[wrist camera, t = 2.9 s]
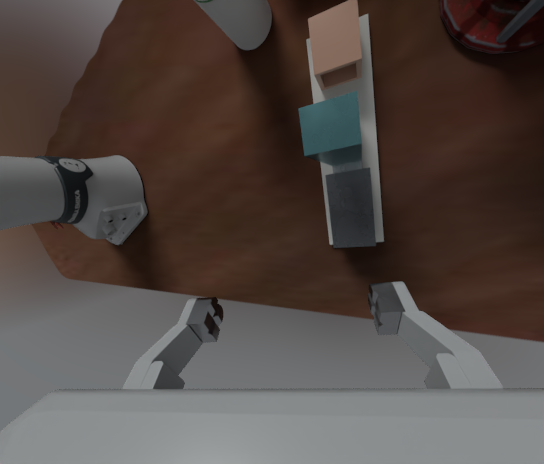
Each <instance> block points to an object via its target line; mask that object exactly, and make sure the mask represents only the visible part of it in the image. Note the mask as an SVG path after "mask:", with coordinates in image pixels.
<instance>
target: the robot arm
mask: <svg viewBox="0 0 544 464" xmlns="http://www.w3.org/2000/svg"><path fill="white" fill-rule="evenodd" d="M147 213H148V211H147V207H146V204H145V201H144V194H143V185H142V181H141V178H140V176H139V173H138V172H137V170H136V168H135V167H134V165H133V164H132V163H131V162H130V161H129V160H128V159H126V158H124V157H122V156H119V155H114V156H110V157H104V158H95V159H72V158H65V157H53V156H37V157H35V158H23V157H7V156H0V230H3V229H7V228H12V227H17V226H22V225H28V224H33V223H39V222H46V221H50V222H51V223H52V225H53V226H54V227H55V228H56V229H57V230H58V228H57V226H58V227H60V228H61V229H63V227H62V225H61V224H60V223H67V224H72V225H73V226H75V227H76V228H77V229H79V230H80V231H81V232H82V233H84V234H85V235H86V236H88V237H90V238H93V239H103V238H106V239H107V240H108V241H110V242H111V243H113V244H116V245H120V244H122V243H123V242H124V241H125V240H126V239H127V237H128V236H129V235H130V234H131V233H132V232H133V230H134V229H135V228H136V227H137V226H138V225H139V223H140V222H141V221H142V220H143V219H144V218H145V216H146V215H147ZM56 225H57V226H56ZM368 289H369V292H370V293H369V294H368V304H369V308H370V311H371V314H372V315H374V324H375V327H376V330H377V332H378V335H385V334H386V335H391V334H397V336H398V337H399V338H400V339H401V340H402V341H403V342H404V343H405V344H406V345H407V346H409V347H410V349H411V350H412V351H413V352H414V353H416V354H417V356H418V357H419V358H420V359H421V360H422V361H423V362H425V364H426V365H427V366H429V368H430V370H429V372H428V375H427V377H426V379H425V381H424V382H425V384H426V387H427V389H183V387H184V384H185V383H184V381H183V380H182V379H181V378H180V377H179V376H178V375H179V373H180V372H181V371H182V369H183V368H184V367H185V365H186V364H187V363H188V362H189V361H190V359H191V358H192V357H193V355H194V354H195V353H196V351H197V350H198V349H199V347H200V346H201V345H202V343H203V342H217V338H218V335H219V331H220V329H219V327H218V326H219V325H220V324H221V323H222V320H223V309H222V307H221V305H219V304H217V303H218V300H217V298H216V297H208V298H193V299H189V300H188V301H187V303H186V305H185V308H184V310H183V312H182V315H181V317H180V319H179V321H178V323H177V325H175V326H173V327H172V328H171V329H170V330H169V331H168V332H167V333H166V334H165V335H164V336H163V337H162V338H161V339H160V340H158V341H157V342H156V343H155V344H154V345H153V346H152V347H151V348H150V349H149V350H148V351H147V352H146V353H145V354H144V355H143V356H141V357H140V358H139V359H138V360H137V361H136V363H135V365H134V367H133V369H132V371H131V373H130V375H129V377H128V379H127V381H126V382H125V384H124V386H123V388H122V389H59V390H55V391H52V392H50V393H49V394H47V395H46V396H44V397H43V398H41V399H40V400H39V401H37V402H36V403H35V404H33V405H32V406H31V407H29V408H28V409H27V410H26V411H25V412H23V413H22V414H21V415H19V416H18V417H17V418H15V419H14V420H13V421H12V422H11V423H9V424H8V425H7V426H6V427H5V428H4V429H3V430H2V431H1V432H0V464H544V388H533V389H532V388H527V389H526V388H522V389H521V388H518V389H517V388H512V389H510V388H507V389H505V388H503V386H502V385H501V383H500V382H499V380H498V379H497V377H496V376H495V374H494V373H493V371H492V370H491V368H490V367H489V365H488V364H487V362H486V360H485V359H484V357H483V356H482V354H481V353H480V351H478V350H477V349H475V348H474V347H472V346H471V345H470V344H468V343H467V342H465V341H464V340H462V339H461V338H460V337H458V336H457V335H456V334H454V333H453V332H451V331H450V330H449V329H447V328H446V327H444V326H443V325H442V324H440V323H439V322H437V321H436V320H435V319H433V318H432V317H430V316H429V315H428V314H426V313H425V312H423V311H419V310H418V308H417V306H416V304H415V302H414V301H413V299H412V297H411V295H410V293H409V291H408V289H407V287H406V285H405V284H404V283H403V282H387V283H376V284H369V288H368Z"/></svg>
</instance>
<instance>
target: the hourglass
mask: <svg viewBox="0 0 544 464" xmlns="http://www.w3.org/2000/svg"><path fill="white" fill-rule="evenodd" d="M439 2H440V13H441V18H442V20H443V22H444V24H445V26H446V27H447V29H448V31H449V33H450V35H451V36H452V37H453V38H455V39H456V40H457V41H459V42H460V43H461V44H463V45H464V46H465V47H467V48H469V49H473V50H477V51H481V52H485V53H489V54H497V53H510V52H520V51H523V50H526V49H529V48H532V47H534V46H537V45H540V44H543V43H544V0H439Z"/></svg>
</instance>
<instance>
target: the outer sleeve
mask: <svg viewBox="0 0 544 464" xmlns="http://www.w3.org/2000/svg"><path fill="white" fill-rule="evenodd" d="M325 176H326V185H327V194H328V203H329V212H330V221H331V230H332V239H333V247H334V248H343V247H364V246H376V238H375V225H374V212H373V198H372V185H371V172H370V167H369V168H363V169H357V170H352V171H346V172H340V173H335V174H329V175H325Z"/></svg>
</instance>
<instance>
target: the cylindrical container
mask: <svg viewBox="0 0 544 464" xmlns="http://www.w3.org/2000/svg"><path fill="white" fill-rule="evenodd" d="M194 1H195V2H196V3H197V4H198V5H199V6H200V7H201V8H202V9H203V10H204V11H205V12H206V13H207V15H208V16H209V17H210V18H211V19H212V20H213V21H214V22H215V23H216V24H217V25H218V26H219V27H220V28H221V29H222V30H223V31H224V33H225V34H226V35H227V36H228V37H229V38H230V39H231V40H232V41H233V42H234V43H235V44H236V45H237V46H238V47H239V48H241V49H243V50H253V49H255V48H257V47H258V46H260V45H261V44H262V43H263V42H264V40H265V39H266V37H267V35H268V33H269V31H270V28H271V22H272V13H271V8H270V5H269V3H268V1H267V0H194Z"/></svg>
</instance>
